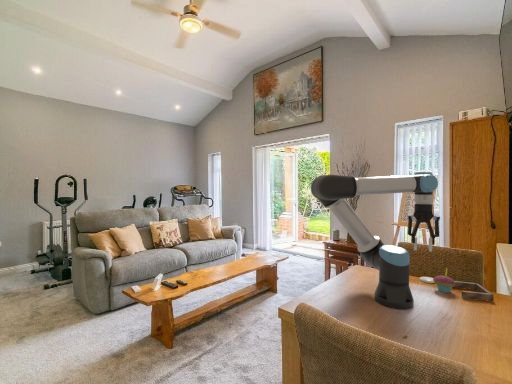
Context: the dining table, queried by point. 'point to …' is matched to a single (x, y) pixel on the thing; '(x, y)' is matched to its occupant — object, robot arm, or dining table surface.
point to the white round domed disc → (427, 279)
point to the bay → (482, 295)
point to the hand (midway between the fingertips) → (422, 250)
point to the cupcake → (444, 283)
